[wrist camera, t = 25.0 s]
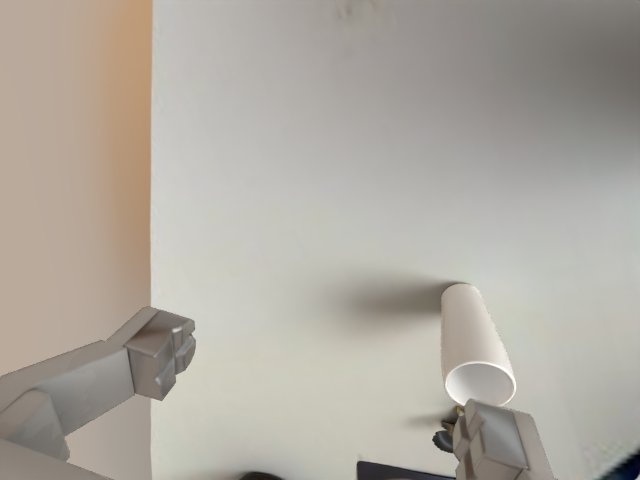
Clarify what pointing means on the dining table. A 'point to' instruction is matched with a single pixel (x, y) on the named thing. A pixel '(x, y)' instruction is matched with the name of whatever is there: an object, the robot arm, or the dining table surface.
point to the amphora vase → (259, 477)
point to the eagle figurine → (446, 435)
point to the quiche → (390, 473)
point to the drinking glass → (473, 350)
